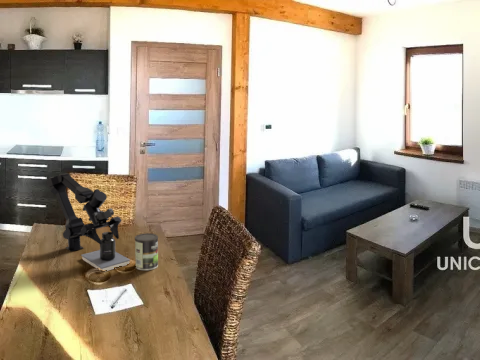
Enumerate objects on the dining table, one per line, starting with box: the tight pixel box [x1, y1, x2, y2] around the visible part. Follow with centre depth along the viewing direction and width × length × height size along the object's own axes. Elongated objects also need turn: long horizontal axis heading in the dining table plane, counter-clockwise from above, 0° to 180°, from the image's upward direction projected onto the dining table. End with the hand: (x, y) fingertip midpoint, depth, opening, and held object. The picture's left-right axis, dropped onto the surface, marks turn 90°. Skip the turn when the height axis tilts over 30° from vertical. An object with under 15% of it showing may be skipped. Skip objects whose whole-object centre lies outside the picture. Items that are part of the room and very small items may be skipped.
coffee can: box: [134, 233, 159, 271], centre depth 191 cm, size 10×10×14 cm
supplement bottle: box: [99, 231, 116, 260], centre depth 193 cm, size 7×7×12 cm
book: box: [80, 249, 131, 272], centre depth 195 cm, size 20×14×3 cm
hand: (109, 241), depth 191 cm, fingers open, 9 cm apart
